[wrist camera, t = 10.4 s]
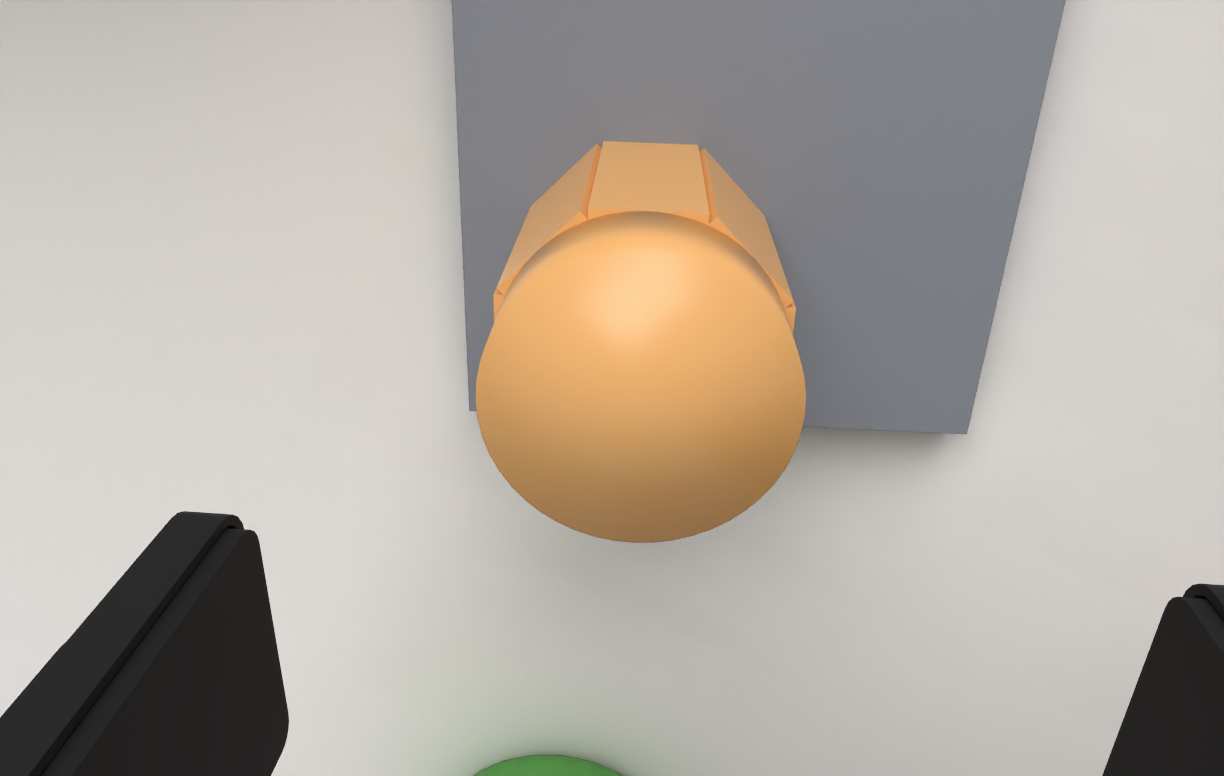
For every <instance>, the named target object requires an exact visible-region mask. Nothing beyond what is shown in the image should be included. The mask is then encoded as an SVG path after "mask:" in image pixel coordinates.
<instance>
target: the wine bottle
mask: <svg viewBox="0 0 1224 776" xmlns="http://www.w3.org/2000/svg"><path fill="white" fill-rule="evenodd" d="M474 776H621V775H619V774H618V773H616V772H615V771H612V770H610V769H607V768H605V767H602V766H600V765H598V764H595V763H593V762H590V761H587V760H582V759H577V758H571V757H566V756H561V755H531V756H526V757H520V758H515V759H510V760H505V761H502V762H500V763H497V764H495V765H493V766H491V767H488V768H486V769H484V770H481V771H479V772H478V773H476V774H475V775H474Z"/></svg>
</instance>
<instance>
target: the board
mask: <svg viewBox="0 0 1224 776" xmlns="http://www.w3.org/2000/svg"><path fill="white" fill-rule="evenodd" d="M1064 5H1065V0H452V14H453V38H454V61H455V84H456V108H457V131H458V155H459V178H460V202H461V225H462V249H463V272H464V296H465V319H466V343H467V366H468V389H469V411H477V408H476V380H477V375H478V369H479V364H480V360H481V357H482V354H483V351H484V348H485V345H486V343H487V340H488V338H489V335H490V332H491V330H492V327H493V325H494V299H493V295H494V292H495V290H496V288H497V285H498V283H499V281H500V278H501V276H502V273H503V271H504V269H505V266H506V264H507V262H508V259H509V257H510V254H511V252H512V250H513V247H514V245H515V243H516V240H517V238H518V235H519V233H520V231H521V228H522V226H523V224H524V221H525V219H526V216H527V214H528V212H529V209H530V207H531V205H532V204H534V203H535V202H536V201H537V200H538V199H539V198H540V197H541V196H542V195H543V194H544V193H545V192H546V191H547V190H548V189H549V188H550V187H552V186H553V185H554V184H555V183H556V182H557V181H558V180H559V179H560V178H561V177H562V176H563V175H564V174H565V173H566V172H567V171H568V170H569V169H571V168H572V167H573V166H574V165H575V164H576V163H577V162H578V161H579V160H580V159H581V158H582V157H583V156H584V155H585V154H586V153H587V152H589V151H590V150H591V149H592V148H593V147H594V146H595V145H596V144H598V145H599V146H600V147H601V148H602V145H603V141H614V142H639V143H663V144H688V145H698V147H699V152H700V151H701V150H702V149H703V148H705V149H706V150H707V151H708V153H709V154H710V155H711V156H712V157H713V158H714V159H715V160H716V162H717V163H718V164H719V165H720V166H721V167H722V168H723V169H724V171H725V172H726V173H727V174H728V175H729V176H730V177H731V178H732V180H733V181H734V182H735V183H736V184H737V185H738V186H739V188H740V189H741V190H742V191H743V192H744V193H745V194H746V195H747V197H748V198H749V199H750V200H751V201H752V202H753V203H754V204H755V206H756V207H757V208H758V209H759V210H760V211H761V212H762V213H763V215H764V216H765V218H766V221H767V224H768V227H769V230H770V233H771V236H772V239H773V242H774V245H775V248H776V251H777V254H778V257H779V260H780V262H781V265H782V268H783V271H784V274H785V277H786V280H787V283H788V286H789V289H790V292H791V295H792V298H793V301H794V304H795V307H796V312H795V320H794V328H793V338H794V341H795V344H796V347H797V350H798V354H799V357H800V361H801V365H802V369H803V373H804V378H805V390H806V405H805V417H804V422H803V427H822V428H844V429H865V430H886V431H908V432H929V433H950V434H967V431H968V427H969V422H970V418H971V413H972V409H973V405H974V400H975V396H976V391H977V387H978V383H979V378H980V374H981V369H982V365H983V361H984V356H985V352H986V347H987V343H988V339H989V334H990V330H991V325H992V321H993V317H994V312H995V308H996V303H997V299H998V295H999V290H1000V286H1001V282H1002V277H1003V273H1004V268H1005V264H1006V260H1007V255H1008V251H1009V246H1010V242H1011V238H1012V233H1013V229H1014V224H1015V220H1016V216H1017V211H1018V207H1019V202H1020V198H1021V194H1022V189H1023V185H1024V180H1025V176H1026V172H1027V167H1028V163H1029V158H1030V154H1031V150H1032V145H1033V141H1034V136H1035V132H1036V128H1037V123H1038V119H1039V114H1040V110H1041V106H1042V101H1043V97H1044V92H1045V88H1046V84H1047V79H1048V75H1049V70H1050V66H1051V62H1052V57H1053V53H1054V48H1055V44H1056V40H1057V35H1058V31H1059V27H1060V22H1061V18H1062V13H1063V9H1064Z"/></svg>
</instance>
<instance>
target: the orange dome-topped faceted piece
mask: <svg viewBox="0 0 1224 776" xmlns="http://www.w3.org/2000/svg"><path fill="white" fill-rule="evenodd" d="M493 299H494V325H493V327H492V330H491V332H490V335H489V338H488V340H487V343H486V345H485V348H484V351H483V354H482V357H481V360H480V364H479V369H478V375H477V380H476V408H477V417H478V422H479V426H480V429H481V433H482V437H483V440H484V442H485V444H486V447H487V449H488V452H489V454H490V456H491V458H492V459H493V461H494V463H495V464H496V466H497V468H498V469H499V471H500V472H501V474H502V475H503V476H504V478H505V479H506V480H507V481H508V483H509V484H510V485H511V486H512V487H513V488H514V489H515V490H516V491H517V492H518V493H519V494H520V495H521V496H522V497H523V498H524V499H525V500H526V501H527V502H528V503H530V504H531V505H532V506H534V507H535V508H536V509H537V510H539V511H540V512H542V513H543V514H545V515H546V516H548V517H550V518H551V519H553V520H555V521H556V522H558V523H561V524H563V525H565V526H567V527H569V528H571V529H574V530H576V531H579V532H582V533H585V534H588V535H591V536H595V537H599V538H604V539H609V540H613V541H623V542H633V543H643V542H662V541H671V540H676V539H681V538H685V537H690V536H693V535H696V534H699V533H702V532H705V531H708V530H711V529H713V528H715V527H717V526H719V525H721V524H724V523H726V522H728V521H730V520H731V519H733V518H734V517H736V516H738V515H739V514H741V513H742V512H744V511H746V510H747V509H748V508H749V507H750V506H752V505H753V504H754V503H755V502H757V501H758V500H759V499H760V498H761V497H762V496H763V495H764V494H765V493H766V492H767V491H768V490H769V489H770V488H771V487H772V486H773V485H774V483H775V482H776V481H777V479H778V478H779V477H780V475H781V474H782V473H783V471H784V470H785V468H786V466H787V465H788V463H789V461H790V459H791V457H792V455H793V453H794V451H795V449H796V446H797V443H798V441H799V438H800V435H801V431H802V427H803V422H804V417H805V405H806V390H805V378H804V373H803V369H802V365H801V361H800V357H799V354H798V350H797V347H796V344H795V341H794V338H793V328H794V320H795V312H796V307H795V304H794V301H793V298H792V295H791V292H790V289H789V286H788V283H787V280H786V277H785V274H784V271H783V268H782V265H781V262H780V260H779V257H778V254H777V251H776V248H775V245H774V242H773V239H772V236H771V233H770V230H769V227H768V224H767V221H766V218H765V216H764V215H763V213H762V212H761V211H760V210H759V209H758V208H757V207H756V206H755V204H754V203H753V202H752V201H751V200H750V199H749V198H748V197H747V195H746V194H745V193H744V192H743V191H742V190H741V189H740V188H739V186H738V185H737V184H736V183H735V182H734V181H733V180H732V178H731V177H730V176H729V175H728V174H727V173H726V172H725V171H724V169H723V168H722V167H721V166H720V165H719V164H718V163H717V162H716V160H715V159H714V158H713V157H712V156H711V155H710V154H709V153H708V151H707V150H706V149H705V148H703V149H702V150H701V151H700V152H699V147H698V145H688V144H663V143H639V142H614V141H603V145H602V148H601V147H600V146H599V145H598V144H596V145H595V146H594V147H593V148H592V149H591V150H590V151H589V152H587V153H586V154H585V155H584V156H583V157H582V158H581V159H580V160H579V161H578V162H577V163H576V164H575V165H574V166H573V167H572V168H571V169H569V170H568V171H567V172H566V173H565V174H564V175H563V176H562V177H561V178H560V179H559V180H558V181H557V182H556V183H555V184H554V185H553V186H552V187H550V188H549V189H548V190H547V191H546V192H545V193H544V194H543V195H542V196H541V197H540V198H539V199H538V200H537V201H536V202H535V203H534V204H532V205H531V207H530V209H529V212H528V214H527V216H526V219H525V221H524V224H523V226H522V228H521V231H520V233H519V235H518V238H517V240H516V243H515V245H514V247H513V250H512V252H511V254H510V257H509V259H508V262H507V264H506V266H505V269H504V271H503V273H502V276H501V278H500V281H499V283H498V285H497V288H496V290H495V292H494V295H493Z"/></svg>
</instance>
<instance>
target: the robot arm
mask: <svg viewBox="0 0 1224 776" xmlns="http://www.w3.org/2000/svg"><path fill="white" fill-rule="evenodd" d="M288 725H289V717H288V709H287V703H286V697H285V691H284V685H283V680H282V674H281V668H280V662H279V656H278V650H277V644H276V638H275V632H274V627H273V621H272V615H271V609H270V603H269V597H268V591H267V585H266V579H265V574H264V568H263V562H262V556H261V550H260V544H259V540H258V536H257V535H256V533H255V532H254V531H252V530H244V528H243V524H242V522H241V521H240V519H239V518H238V517H237V516H235V515H228V514H214V513H200V512H186V511H183V512H180V513H177V514H176V515H175V516H174V517H172V518H171V519H170V520H169V522H168V523H167V524H166V525H165V526H164V528H163V529H162V530H161V531H160V532H159V533H158V535H157V536H156V537H155V538H154V539H153V541H152V542H151V543H150V544H149V545H148V546H147V548H146V549H145V550H144V551H143V552H142V553H141V555H140V556H139V557H138V558H137V559H136V561H135V562H134V563H133V564H132V565H131V566H130V568H129V569H128V570H127V571H126V572H125V573H124V575H123V576H122V577H121V578H120V579H119V581H118V582H117V583H116V584H115V585H114V586H113V588H112V589H111V590H110V591H109V592H108V594H107V595H106V596H105V597H104V598H103V599H102V601H101V602H100V603H99V604H98V605H97V606H96V608H95V609H94V610H93V611H92V612H91V614H90V615H89V616H88V617H87V618H86V619H85V621H84V622H83V623H82V624H81V625H80V627H79V628H78V629H77V630H76V631H75V632H74V634H73V635H72V636H71V637H70V638H69V639H68V641H67V642H66V643H65V644H63V645H62V646H61V647H60V648H59V649H58V651H57V652H56V653H55V654H54V655H53V656H52V658H51V659H50V660H49V661H48V662H47V663H46V665H45V666H44V667H43V668H42V669H41V671H40V672H39V673H38V674H37V675H36V676H35V678H34V679H33V680H32V681H31V682H30V683H29V685H28V686H27V687H26V688H25V689H24V690H23V692H22V693H21V694H20V695H19V696H18V698H17V699H16V700H15V701H14V702H13V703H12V705H11V706H10V707H9V708H8V709H7V710H6V712H5V713H4V714H3V715H2V716H1V718H0V776H271V774H272V772H273V770H274V768H275V766H276V764H277V762H278V760H279V758H280V755H281V753H282V751H283V748H284V746H285V742H286V739H287V733H288ZM1103 776H1224V585H1211V584H1196V585H1192V586H1191V587H1190V588H1189V589H1188V590H1186V592H1185V594H1184V596H1183V597H1175V598H1172V599H1171V600H1170V601H1169V602H1168V604H1167V606H1166V608H1165V610H1164V612H1163V615H1162V618H1161V620H1160V623H1159V626H1158V628H1157V631H1156V634H1155V637H1154V639H1153V642H1152V645H1151V647H1150V650H1149V653H1148V655H1147V658H1146V661H1145V663H1144V666H1143V669H1142V671H1141V674H1140V677H1139V679H1138V682H1137V685H1136V687H1135V690H1134V693H1133V695H1132V698H1131V701H1130V703H1129V706H1128V709H1127V711H1126V714H1125V717H1124V719H1123V722H1122V725H1121V727H1120V730H1119V733H1118V735H1117V738H1116V741H1115V743H1114V746H1113V749H1112V751H1111V754H1110V757H1109V759H1108V762H1107V765H1106V768H1105V770H1104V773H1103Z"/></svg>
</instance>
